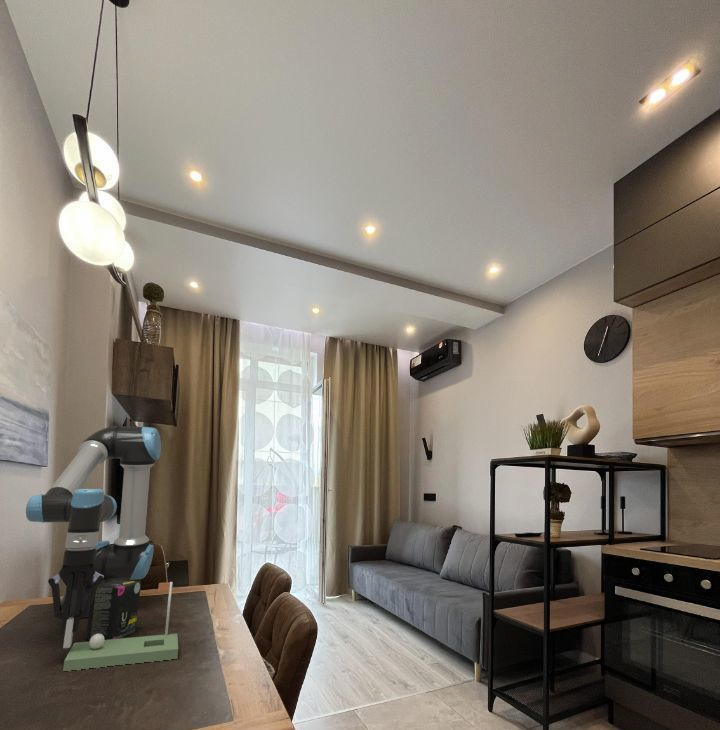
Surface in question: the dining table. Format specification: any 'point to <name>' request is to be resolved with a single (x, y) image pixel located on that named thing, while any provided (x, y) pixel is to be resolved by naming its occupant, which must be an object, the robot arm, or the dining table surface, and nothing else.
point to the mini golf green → (125, 648)
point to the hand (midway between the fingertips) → (67, 646)
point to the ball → (96, 641)
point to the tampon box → (114, 609)
